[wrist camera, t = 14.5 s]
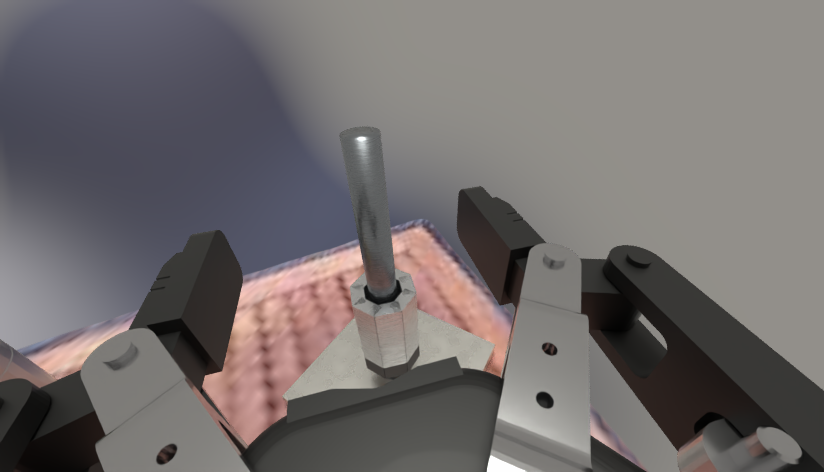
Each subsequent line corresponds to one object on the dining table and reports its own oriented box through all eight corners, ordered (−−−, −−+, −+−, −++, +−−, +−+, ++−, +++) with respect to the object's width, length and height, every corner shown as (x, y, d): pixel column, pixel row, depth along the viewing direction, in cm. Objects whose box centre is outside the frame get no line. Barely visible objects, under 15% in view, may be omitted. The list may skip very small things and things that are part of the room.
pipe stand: (287, 405, 37) (140, 160, 18) (379, 300, 48) (346, 89, 30) (422, 509, 29) (399, 261, 10) (493, 353, 41) (540, 110, 22)
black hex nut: (354, 360, 35) (351, 350, 33) (385, 322, 38) (383, 311, 37) (399, 387, 32) (397, 376, 31) (427, 343, 36) (427, 332, 35)
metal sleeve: (351, 350, 33) (337, 298, 28) (383, 311, 37) (376, 260, 32) (397, 376, 31) (390, 325, 26) (427, 332, 35) (425, 280, 30)
